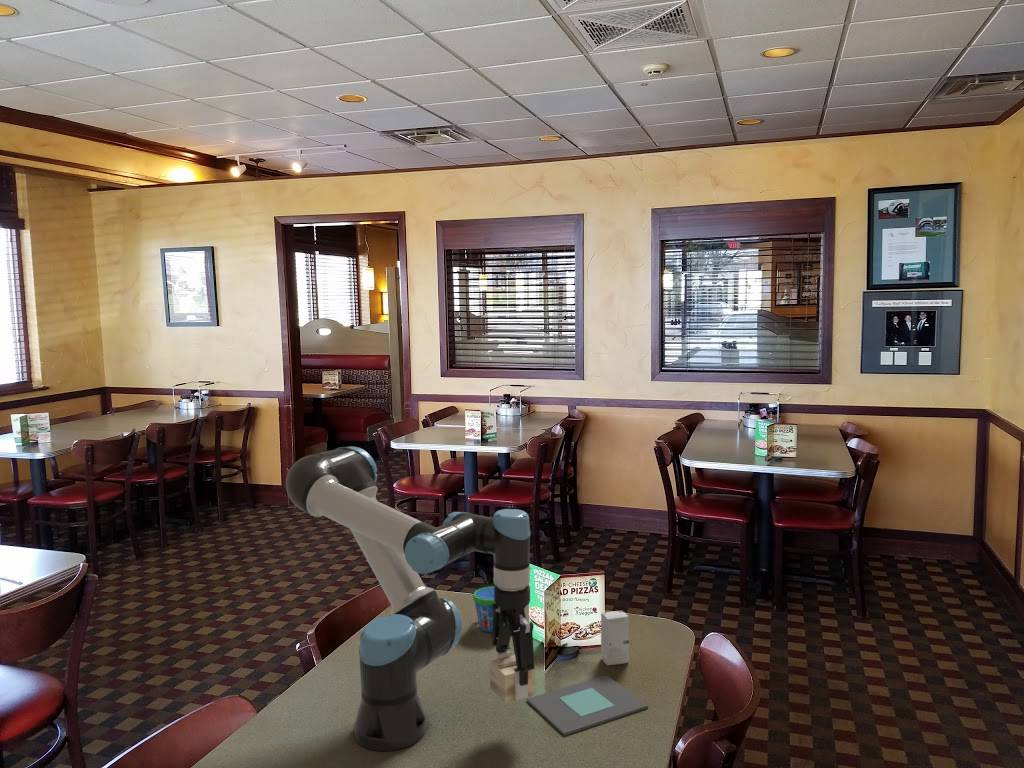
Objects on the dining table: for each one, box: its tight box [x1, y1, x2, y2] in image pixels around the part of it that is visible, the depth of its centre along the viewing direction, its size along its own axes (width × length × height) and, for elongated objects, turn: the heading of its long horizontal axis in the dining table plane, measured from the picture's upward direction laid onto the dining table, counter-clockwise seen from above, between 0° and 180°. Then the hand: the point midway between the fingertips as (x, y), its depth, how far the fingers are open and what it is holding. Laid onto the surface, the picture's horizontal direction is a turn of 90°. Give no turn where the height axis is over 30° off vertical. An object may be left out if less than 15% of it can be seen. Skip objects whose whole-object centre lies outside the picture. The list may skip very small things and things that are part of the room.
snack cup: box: [472, 586, 494, 633], centre depth 209 cm, size 16×10×10 cm
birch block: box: [489, 654, 536, 704], centre depth 158 cm, size 7×7×6 cm
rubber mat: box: [526, 674, 649, 737], centre depth 169 cm, size 22×16×1 cm
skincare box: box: [600, 610, 630, 666], centre depth 189 cm, size 6×4×12 cm
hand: (512, 689), depth 158 cm, fingers closed on birch block, 7 cm apart
